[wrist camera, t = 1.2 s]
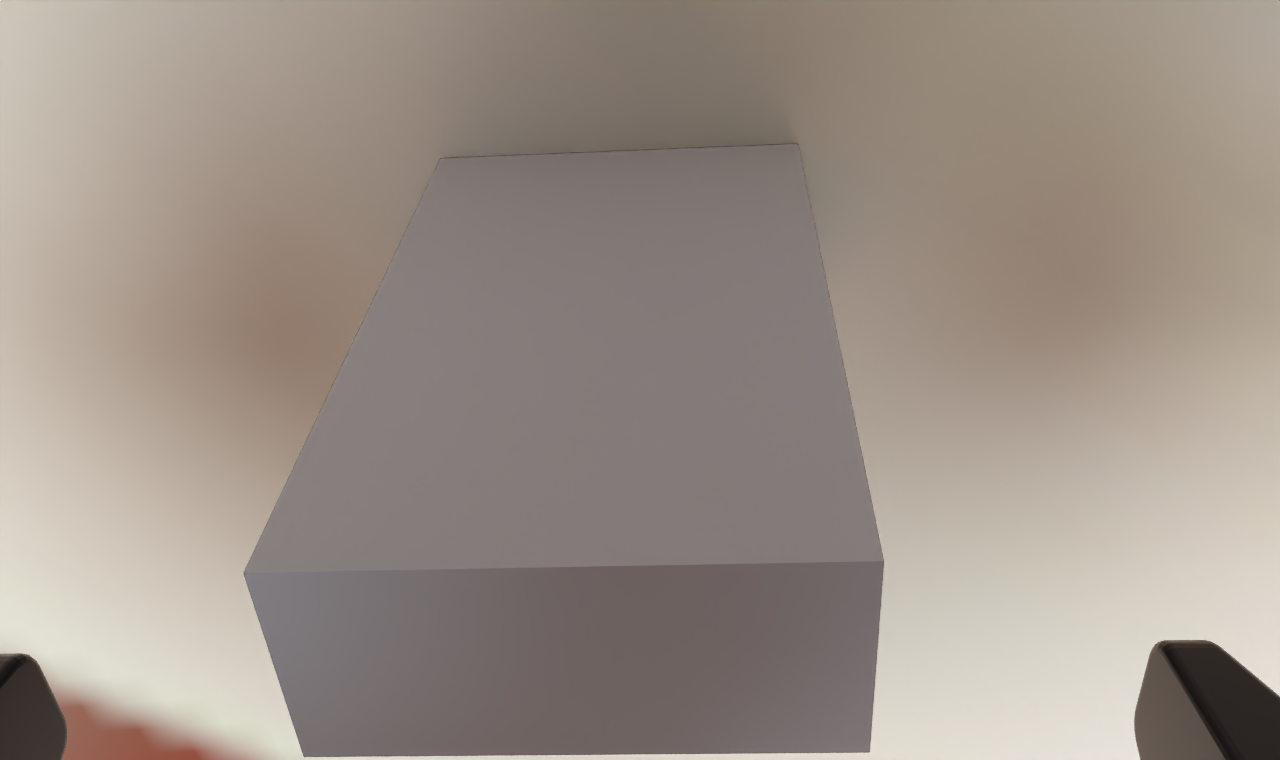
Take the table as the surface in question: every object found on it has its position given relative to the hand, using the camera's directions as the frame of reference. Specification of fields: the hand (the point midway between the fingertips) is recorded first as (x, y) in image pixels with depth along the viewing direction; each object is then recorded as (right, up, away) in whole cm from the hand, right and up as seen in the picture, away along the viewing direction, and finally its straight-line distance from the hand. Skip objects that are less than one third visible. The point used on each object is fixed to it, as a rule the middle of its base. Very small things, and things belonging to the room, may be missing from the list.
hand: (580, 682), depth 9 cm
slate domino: (0, +5, +7) cm, 9 cm away
